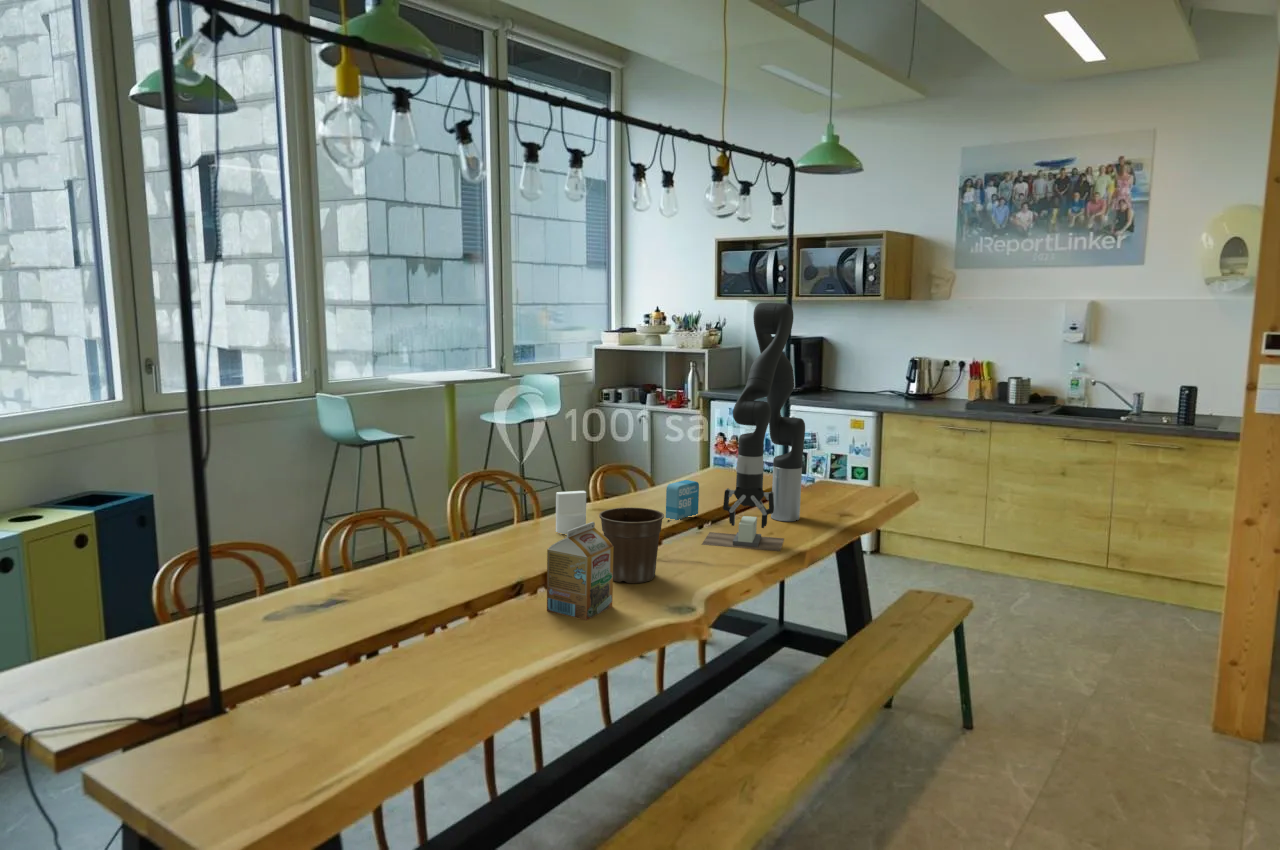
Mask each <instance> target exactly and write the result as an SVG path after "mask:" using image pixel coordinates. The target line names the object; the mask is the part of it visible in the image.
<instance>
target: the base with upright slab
mask: <svg viewBox="0 0 1280 850" xmlns="http://www.w3.org/2000/svg"><path fill="white" fill-rule="evenodd" d="M585 524H587V491H586V490H572V491H558V492H555V532H558V533H562V534H567V531H569V530H571V529H574V528H577V527H580V526H582V525H585ZM558 533H557V534H558Z"/></svg>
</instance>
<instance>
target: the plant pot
mask: <svg viewBox="0 0 1280 850" xmlns="http://www.w3.org/2000/svg"><path fill="white" fill-rule="evenodd" d="M598 516H599V518H600V522H601V530H602V532H603V535H604V536H605V537H606V538H607V539H608V540H609V541H610V542H611V544H612V545H613V546H614V547H613V582H617V583H621V582H626V583H627V584H642V583H646V582H649V581H652V580H653V579H654V578H655V577H656V570H657V569H656V568H657V558H658V550H659V549H658V548H659V541H660V533H661V531H662V523H663V519H664V518H665V514H664V513H663V512H661V511H660V510H658V509H657V510H656V509H652V508H644V507H616V508H611V509H605V510H603V511H601V512H599V514H598Z"/></svg>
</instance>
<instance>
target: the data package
mask: <svg viewBox="0 0 1280 850" xmlns="http://www.w3.org/2000/svg"><path fill="white" fill-rule="evenodd" d="M665 491H666V494H665V519H666V518H670V519H675V520H679V519H681V520H682V519H684V518H685V517H688V516H692V515H696V514H698V515H699V501H700V500H699V499H700V498H699V497H700V485H699V482H698V481H695V480H690V479H685V480H680V481H676V482H675V481H674V482H672V483H668V485H667V486H666V489H665ZM685 519H686V518H685Z"/></svg>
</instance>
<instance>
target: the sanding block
mask: <svg viewBox="0 0 1280 850" xmlns="http://www.w3.org/2000/svg"><path fill="white" fill-rule="evenodd" d="M757 521H758V517H757V516H750V515H749V516H748V515H746V516H745V515H743V516H742V517H741V519H740V521H739V523H738V531H737V532H736V536H735V538H734V540H733V545H737V546H749V547H758V545H759V542H760V540H761V537H762V534H761V533H757V524H758V523H757Z"/></svg>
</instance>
